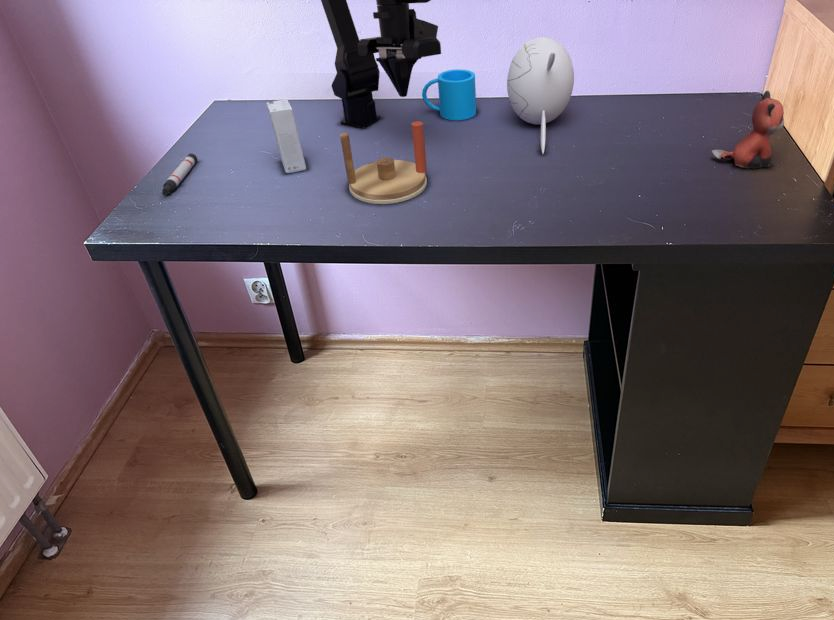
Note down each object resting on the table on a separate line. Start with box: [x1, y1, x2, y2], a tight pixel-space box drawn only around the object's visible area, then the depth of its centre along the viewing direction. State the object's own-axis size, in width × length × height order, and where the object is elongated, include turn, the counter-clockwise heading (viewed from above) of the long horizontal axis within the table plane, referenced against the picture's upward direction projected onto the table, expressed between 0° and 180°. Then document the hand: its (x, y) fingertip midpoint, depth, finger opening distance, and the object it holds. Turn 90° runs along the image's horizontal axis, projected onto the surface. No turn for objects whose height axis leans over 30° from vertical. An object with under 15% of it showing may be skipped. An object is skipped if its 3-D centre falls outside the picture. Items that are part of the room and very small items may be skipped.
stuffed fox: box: [711, 90, 785, 170], centre depth 120 cm, size 8×11×12 cm
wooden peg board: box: [339, 120, 428, 200], centre depth 119 cm, size 14×14×10 cm
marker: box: [161, 153, 198, 195], centre depth 127 cm, size 15×2×2 cm, turn 178°
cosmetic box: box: [266, 98, 307, 174], centre depth 126 cm, size 6×4×12 cm
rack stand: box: [348, 175, 428, 205], centre depth 122 cm, size 14×14×1 cm
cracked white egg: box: [506, 36, 575, 155], centre depth 134 cm, size 19×14×25 cm
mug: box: [421, 68, 477, 121], centre depth 145 cm, size 12×8×8 cm
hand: (403, 96), depth 125 cm, fingers closed
